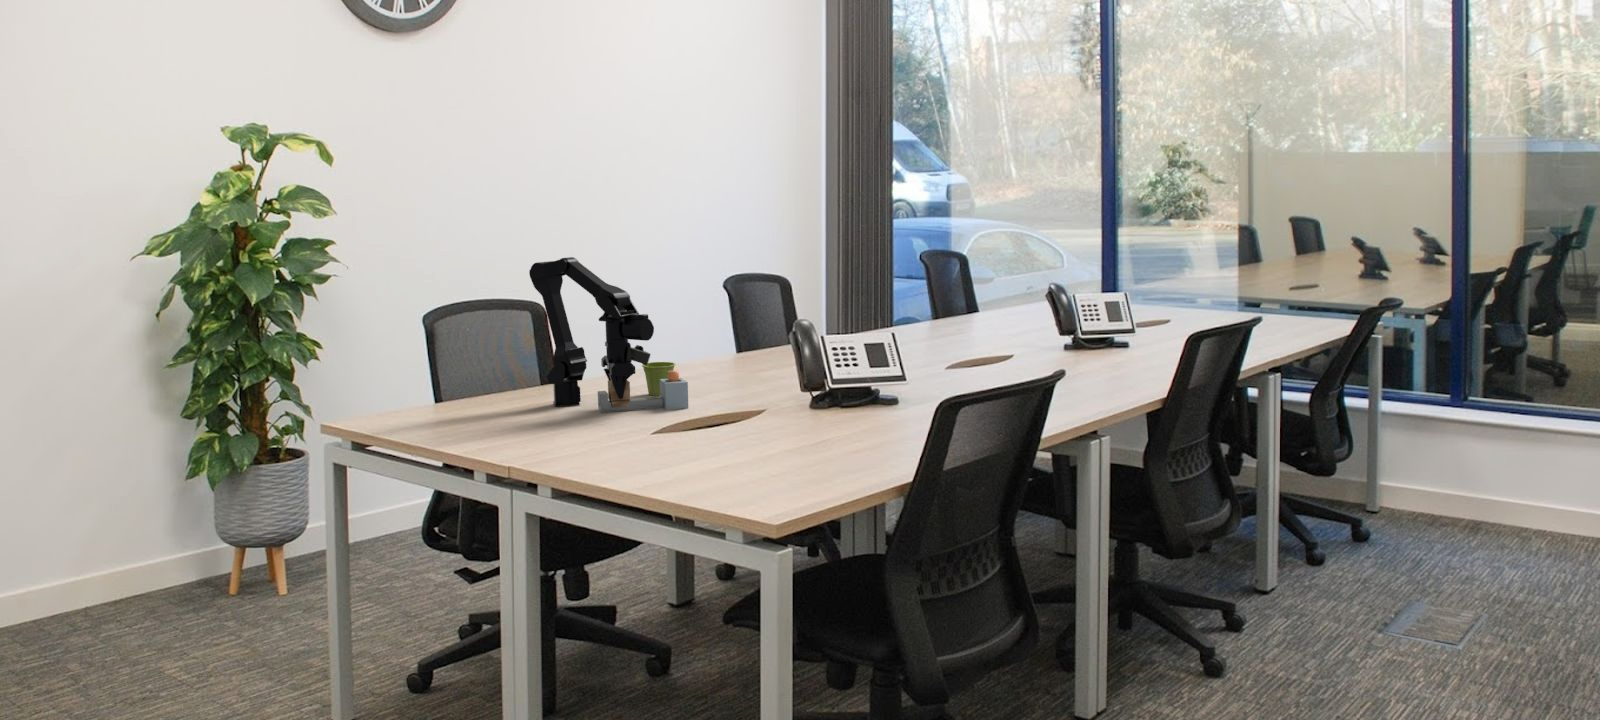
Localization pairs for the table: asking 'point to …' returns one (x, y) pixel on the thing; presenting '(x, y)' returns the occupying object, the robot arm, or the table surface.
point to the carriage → (614, 398)
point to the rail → (635, 404)
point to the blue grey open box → (674, 394)
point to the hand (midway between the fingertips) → (619, 397)
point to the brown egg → (673, 376)
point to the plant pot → (656, 375)
